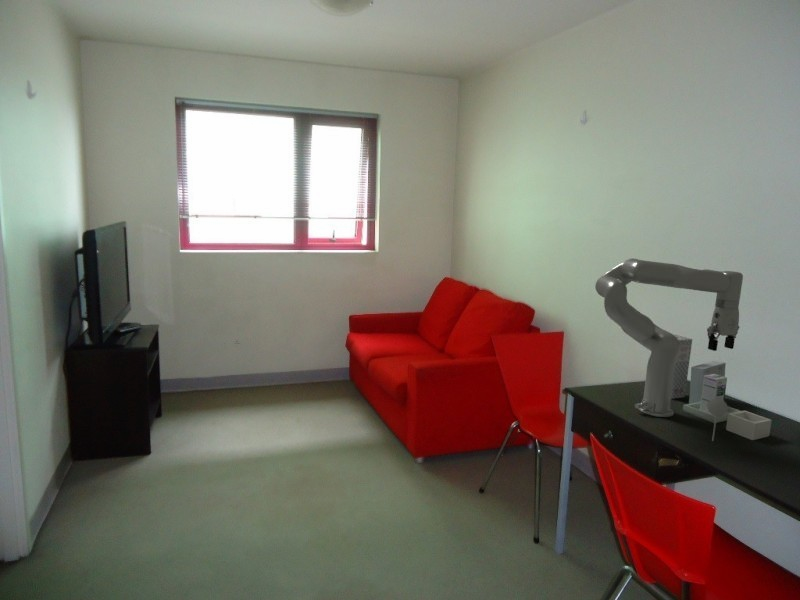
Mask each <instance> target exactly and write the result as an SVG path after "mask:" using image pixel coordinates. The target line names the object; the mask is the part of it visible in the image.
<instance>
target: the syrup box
mask: <svg viewBox="0 0 800 600" xmlns="http://www.w3.org/2000/svg"><path fill="white" fill-rule="evenodd" d="M727 380H728V378H727V377H726V376H725V377H724V376H721V375H716V374H712V375H705V376H704V380H703V388H702V396H701V405H700V410H701V411H704V412H706V413H709V414H711V413H710V412H709V410H708V403H709V401H710V400H712V399H716V398H717V399H722V400H723V401H724V402H725V398H726V397H725V396H726V391H727V382H728V381H727ZM711 415H712V414H711Z"/></svg>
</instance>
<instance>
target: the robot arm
mask: <svg viewBox="0 0 800 600" xmlns="http://www.w3.org/2000/svg"><path fill="white" fill-rule="evenodd" d="M743 280H744V275H743V274H742V272H738V271H732V270H731V271H730V270H724V271H718V270H715V269H714V270H712V269H707V268H706V269H697V268H692V267H687V266H684V265H680V264H675V263H669V262H668V263H667V262H659V261H652V260H651V261H650V260H643V259H638V258H629V259H626V260H625V261H622V262H621V263H619V264H618V265H616V266H615V267H613V268H612V269H611V270H609V271H607V272H606V273H604V274H603V275H601V276H600V277H599V278H598V279H597V280H596V281H595V282H596V283H595V286H594V287H595V291H596V292H597V294H598V295H599V296H600V297H603V299H604V302H603V305H604V306H603V307H604V311H605V313H606V315H607V317H609V318H610V320H612V321H613V322H614V323H616V324H617V326H619V327H620V328H621V330H622V332H624V333H625V334H626V335H627V336H629V337H630V338H632V340H634V341H636V342H637V343H638V344H640V345H641V346H643V347H644V348H645V349H647V350H649V351H650V352H651V353H650V355H649V358H648V361H647V365H646V374H645V383H644V388H643V389H644V390H643V398H642V399H641V402H637V403H635V404H634V408H635V409H638V411H640V412H642V413H643V414H646V415H648V416H653V417H659V418H669V417H673V416H674V415H675V413H674V412H675V411H674V410H673V409H672V408H670V407H671V401H672V399H671V394H672V387H673V379H674V371H675V364H676V360H677V357H678V354H679V351H680V343H679V341H678V339H677V338H676V337H675V336H674V335H675V334H673V333H671V332H670V331H667V330H665V329H663V328H662V327H660V326H658V325H656V324H655V323H654V322H653V320H652V319H651V318H650V317H649V316H647V315H645V314H643V313H641V312H640V311H639V310H638V309H636V308H635V307H634V306H632V304H630V303H629V302H628V289H627V285H628V284H630V283H631V282H634V283H637V284H642V285H643V284H644V285H654V286H660V287H661V286H662V287H668V288H669V287H670V288H675V289H685V290H692V291H701V292H706V293H716V299H715V304H714V311H713V313H712V318H711V323H710V326H708V327H707V328H706V332H707V338H708V344H707V350H709V351H713V352H716V351H717V350H718V343H719V340H718V338H719V337H720V336H721V337H722V336H723V337H725V340H724V341H725V342H724V344H723V345H724V348H727V349H730V350H732V349H734V347H735V339H736V338H737V334H738V331H739V330H740V326H739V325H740V324H739V323H740V309H739V307H740V306H739V305H740V300H741V299H740V298H741V294H742V293H741V292H742V287H743V286H742V285H743Z"/></svg>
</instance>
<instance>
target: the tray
mask: <svg viewBox="0 0 800 600" xmlns="http://www.w3.org/2000/svg"><path fill="white" fill-rule="evenodd" d="M700 405H701V402H696V403H691V404H689V403H687V404H683V405H682V406H683V407H682V412H684V413H688V415H691V416H695V417H697V418H700V419H702V420H704V421H707V422H710V423H713V424H714V423H715V416H714V415H711V414H709V413H706V412H704V411H701V410H700ZM727 407H728V410H727V412H726V414H724V415H722V416H717V420H716V424H717V423H721V422H727V419H728V414H730V413H735V412H740V411H741V410H740V409H737V408H734V407H731V406H729V405H727Z"/></svg>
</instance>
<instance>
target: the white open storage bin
mask: <svg viewBox="0 0 800 600" xmlns="http://www.w3.org/2000/svg"><path fill="white" fill-rule="evenodd" d="M772 422H773V420H772V419H770V418H768V417H765V416H761V415H760V414H759V415H758V414H756V413H752V412H750V411H748V410H740V412H735V413H730V414H728V419H727V421H726V427H725V430H726V431H728V432H731V433H733V434H736V435H738V436H741V437H743V438H746V439H748V440H751V441H755V440H759V439H762V438H763V439H764V438H767V437H769V436H770V435H771V434H770V433H771V427H772Z"/></svg>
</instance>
